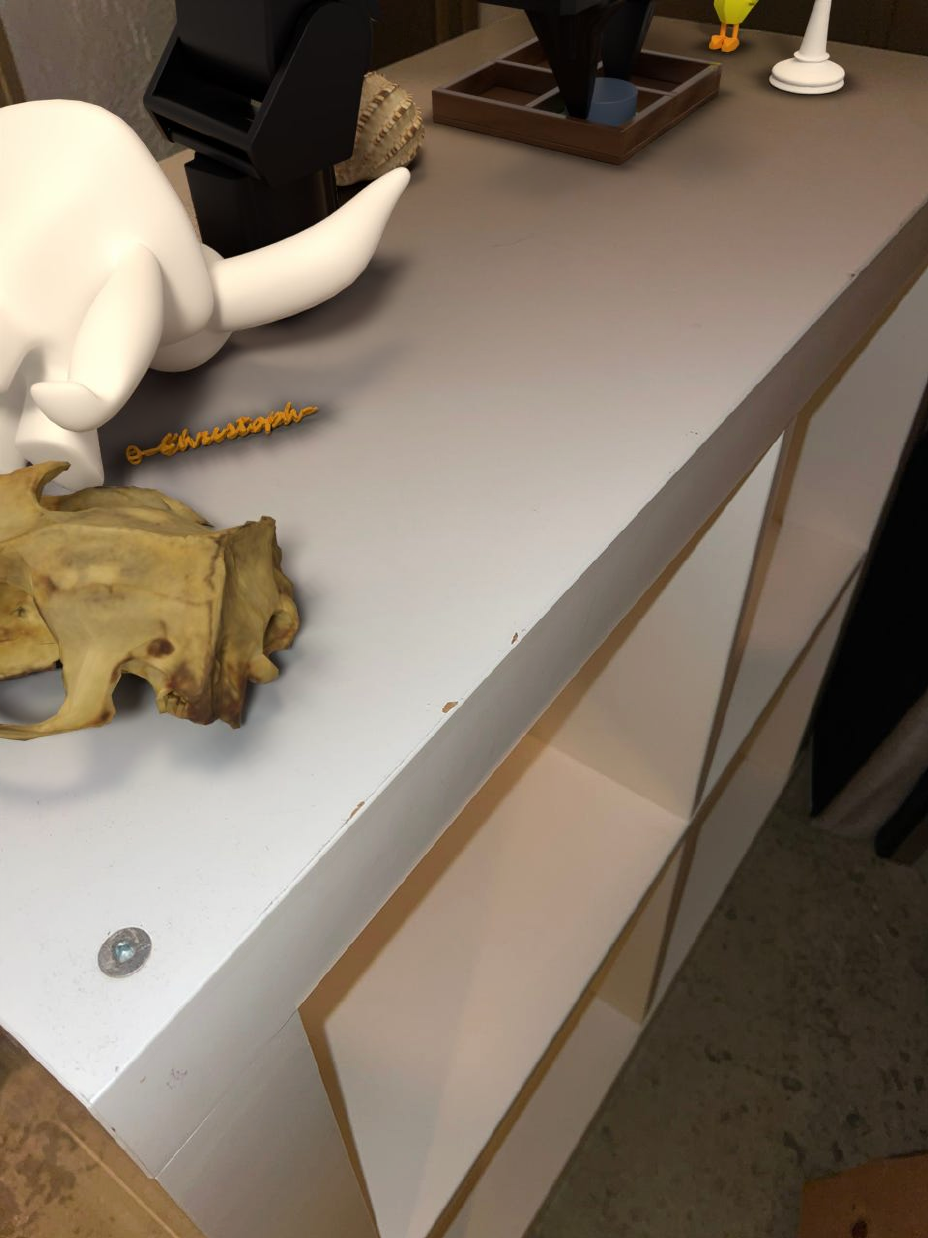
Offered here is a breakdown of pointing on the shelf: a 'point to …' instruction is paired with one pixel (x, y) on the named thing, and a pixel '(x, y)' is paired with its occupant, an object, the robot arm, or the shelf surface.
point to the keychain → (218, 437)
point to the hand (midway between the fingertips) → (598, 106)
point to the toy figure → (730, 21)
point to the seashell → (382, 132)
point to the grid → (534, 109)
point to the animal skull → (135, 600)
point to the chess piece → (810, 60)
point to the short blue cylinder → (612, 101)
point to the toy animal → (129, 278)
